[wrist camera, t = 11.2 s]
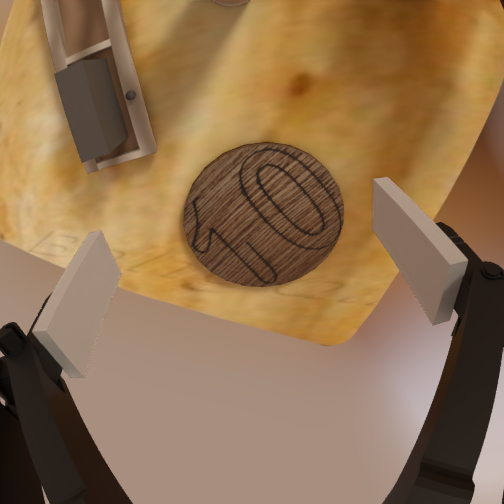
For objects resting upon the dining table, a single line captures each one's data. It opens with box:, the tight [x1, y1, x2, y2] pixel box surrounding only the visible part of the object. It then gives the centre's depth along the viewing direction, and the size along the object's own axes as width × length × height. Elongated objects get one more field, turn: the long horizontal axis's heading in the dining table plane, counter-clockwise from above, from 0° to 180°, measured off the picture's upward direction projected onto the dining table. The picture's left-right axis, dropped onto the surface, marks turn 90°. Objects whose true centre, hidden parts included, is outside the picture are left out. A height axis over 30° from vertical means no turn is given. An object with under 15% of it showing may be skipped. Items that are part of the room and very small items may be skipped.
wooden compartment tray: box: [41, 0, 158, 174], centre depth 32 cm, size 11×34×4 cm, turn 10°
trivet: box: [184, 142, 344, 287], centre depth 50 cm, size 25×25×2 cm
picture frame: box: [54, 59, 129, 163], centre depth 33 cm, size 4×12×8 cm, turn 10°
